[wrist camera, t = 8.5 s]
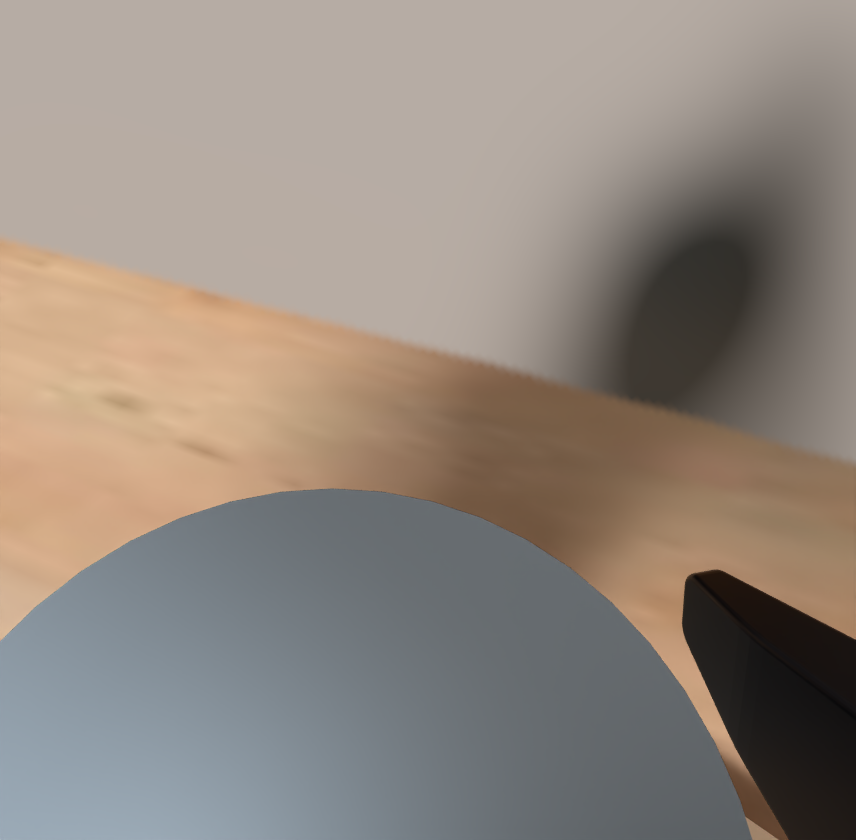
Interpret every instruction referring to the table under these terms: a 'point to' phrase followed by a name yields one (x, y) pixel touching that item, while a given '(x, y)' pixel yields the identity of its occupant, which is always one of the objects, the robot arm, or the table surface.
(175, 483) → the table surface
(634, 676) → the tall pin
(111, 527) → the table surface
